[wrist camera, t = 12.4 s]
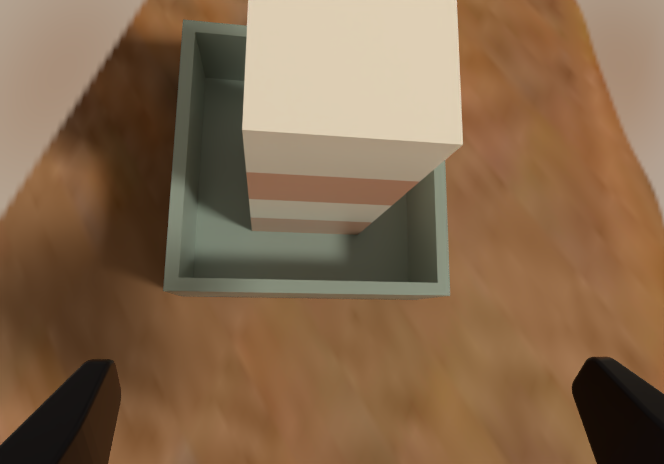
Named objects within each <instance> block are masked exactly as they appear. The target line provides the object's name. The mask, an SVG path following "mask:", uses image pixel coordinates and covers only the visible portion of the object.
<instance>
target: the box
mask: <svg viewBox="0 0 664 464" xmlns="http://www.w3.org/2000/svg"><path fill="white" fill-rule="evenodd" d="M246 39H247V26H243V25H233V24H223V23H212V22H202V21H192V20H183V29H182V42H181V56H180V70H179V83H178V97H177V110H176V124H175V138H174V151H173V165H172V179H171V192H170V206H169V219H168V233H167V247H166V260H165V274H164V287H163V291H165V292H169V293H172V294H176V295H179V296H198V297H266V298H334V299H402V300H417V299H426V298H434V297H443V296H450V279H449V252H448V225H447V199H446V172H445V160H444V161H443V162H442V163H441V164H440V165H439V166H437V167H436V168H435V169H434V170H433V171H432V172H430V173H429V174H428V175H427V176H426V177H425V178H423V179H422V180H421V181H420V182H419V183H418V184H416V185H415V186H414V187H413V188H412V189H411V190H409V191H408V192H407V193H406V194H405V195H404V196H402V197H401V198H400V199H399V200H398V201H397V202H395V203H394V204H393V205H392V206H391V207H390V208H388V209H387V210H386V211H385V212H384V213H383V214H381V215H380V216H379V217H378V218H377V219H376V220H374V221H373V222H372V223H371V224H370V225H369V226H367V227H366V228H365V229H364V230H363V231H362V232H360V233H359V234H358V235H348V234H321V233H293V232H266V231H252V226H251V216H250V206H249V195H248V185H247V175H246V164H245V154H244V144H243V133H242V122H243V101H244V80H245V60H246Z"/></svg>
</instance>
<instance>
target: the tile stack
mask: <svg viewBox="0 0 664 464" xmlns="http://www.w3.org/2000/svg"><path fill="white" fill-rule="evenodd" d="M242 133H243V144H244V154H245V164H246V175H247V185H248V195H249V206H250V216H251V226H252V231H266V232H293V233H321V234H348V235H358V234H359V233H360V232H362V231H363V230H364V229H365V228H366V227H367V226H369V225H370V224H371V223H372V222H373V221H374V220H376V219H377V218H378V217H379V216H380V215H381V214H383V213H384V212H385V211H386V210H387V209H388V208H390V207H391V206H392V205H393V204H394V203H395V202H397V201H398V200H399V199H400V198H401V197H402V196H404V195H405V194H406V193H407V192H408V191H409V190H411V189H412V188H413V187H414V186H415V185H416V184H418V183H419V182H420V181H421V180H422V179H423V178H425V177H426V176H427V175H428V174H429V173H430V172H432V171H433V170H434V169H435V168H436V167H437V166H439V165H440V164H441V163H442V162H443V161H444V160H446V159H447V158H448V157H449V156H450V155H451V154H453V153H454V152H455V151H456V150H457V149H458V148H460V147H461V146H462V145H463V135H462V112H461V89H460V66H459V43H458V19H457V0H248V18H247V39H246V60H245V80H244V101H243V122H242Z"/></svg>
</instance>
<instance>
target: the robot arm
mask: <svg viewBox="0 0 664 464" xmlns="http://www.w3.org/2000/svg"><path fill="white" fill-rule="evenodd" d="M572 394H573V397H574V400H575V403H576V406H577V408H578V411H579V414H580V417H581V420H582V423H583V426H584V428H585V431H586V434H587V437H588V440H589V443H590V446H591V448H592V451H593V454H594V457H595V460H596V462H597V464H664V394H663V393H662V392H660V391H659V390H657V389H656V388H654V387H653V386H652V385H650V384H649V383H647V382H646V381H644V380H643V379H642V378H640V377H639V376H637V375H636V374H634V373H633V372H632V371H630V370H629V369H627V368H626V367H624V366H623V365H622V364H620V363H619V362H617V361H616V360H614V359H612V358H610V357H590V358H589V359H587V360H586V362H585V363H584V365H583V366H582V368H581V370H580V371H579V373H578V375H577V376H576V378H575V379H574V381H573V384H572ZM120 401H121V388H120V383H119V379H118V374H117V370H116V365H115V363H114V361H113V360H110V359H92V360H88V361H86V362H85V363H84V364H83V365H82V366H81V367H80V368H78V369H77V370H76V371H75V372H74V373H73V374H72V375H71V376H70V377H69V378H68V379H67V380H66V381H65V382H64V383H63V384H62V385H61V386H60V387H59V388H58V389H57V390H56V391H55V392H54V393H53V394H52V395H51V396H50V397H49V398H48V399H47V400H46V401H45V402H44V403H43V404H42V405H41V406H40V407H39V408H38V409H37V410H36V411H35V412H34V413H33V414H32V415H31V416H30V417H29V418H28V419H27V420H26V421H25V422H24V423H23V424H22V425H21V426H20V427H19V428H18V429H16V430H15V431H14V432H13V433H12V434H11V435H10V436H9V437H8V438H7V439H6V440H5V441H4V442H3V443H2V444H1V445H0V464H108V461H109V456H110V451H111V446H112V441H113V436H114V431H115V426H116V421H117V416H118V411H119V406H120Z"/></svg>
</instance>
